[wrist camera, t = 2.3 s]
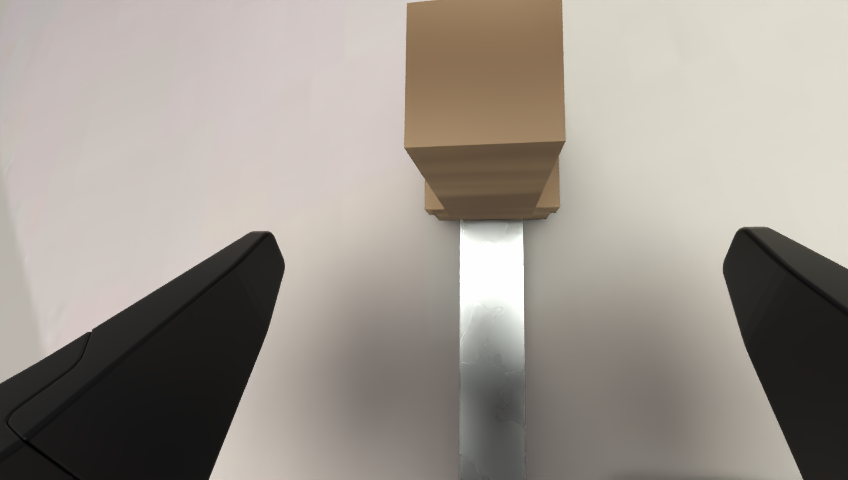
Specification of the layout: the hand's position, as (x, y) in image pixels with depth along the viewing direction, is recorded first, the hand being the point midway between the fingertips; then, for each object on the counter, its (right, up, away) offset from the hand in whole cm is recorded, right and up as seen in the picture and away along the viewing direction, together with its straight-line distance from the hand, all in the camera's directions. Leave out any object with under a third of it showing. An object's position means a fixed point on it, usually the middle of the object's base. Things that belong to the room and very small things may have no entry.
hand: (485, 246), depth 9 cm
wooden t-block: (+2, +3, +10) cm, 10 cm away
